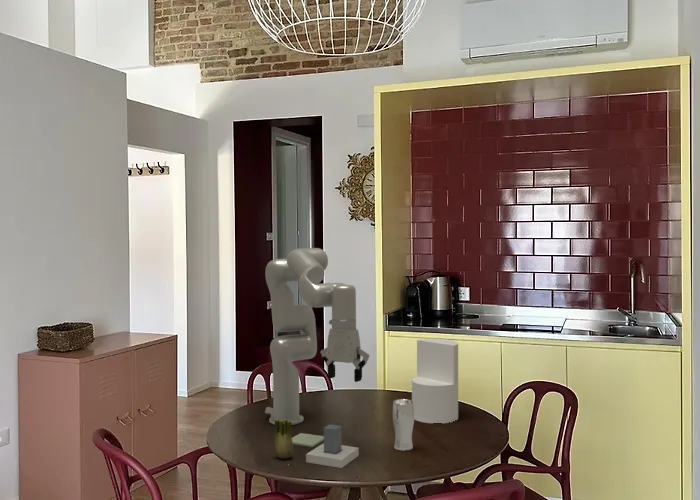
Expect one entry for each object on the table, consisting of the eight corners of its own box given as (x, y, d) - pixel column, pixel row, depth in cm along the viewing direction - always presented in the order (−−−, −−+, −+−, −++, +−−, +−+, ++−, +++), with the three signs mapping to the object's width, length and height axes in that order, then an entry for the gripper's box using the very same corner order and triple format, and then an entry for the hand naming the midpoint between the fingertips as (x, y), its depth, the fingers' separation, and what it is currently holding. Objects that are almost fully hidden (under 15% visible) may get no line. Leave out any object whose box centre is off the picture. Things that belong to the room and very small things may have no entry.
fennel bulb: (272, 457, 209) (272, 418, 208) (286, 453, 212) (285, 416, 211) (282, 462, 204) (282, 423, 204) (296, 458, 207) (295, 420, 207)
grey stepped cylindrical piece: (431, 408, 264) (430, 337, 263) (467, 416, 252) (467, 342, 251) (402, 417, 252) (402, 342, 251) (439, 426, 240) (439, 348, 239)
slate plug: (324, 460, 206) (323, 427, 205) (330, 456, 209) (329, 424, 209) (335, 462, 204) (335, 429, 204) (341, 457, 208) (341, 425, 207)
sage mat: (285, 443, 222) (285, 441, 222) (300, 434, 231) (300, 433, 231) (312, 447, 218) (312, 445, 218) (326, 438, 227) (326, 436, 227)
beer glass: (400, 452, 212) (399, 405, 212) (388, 446, 218) (388, 400, 218) (418, 449, 215) (418, 402, 215) (406, 443, 222) (406, 397, 221)
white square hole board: (306, 462, 204) (306, 454, 204) (324, 450, 215) (324, 442, 215) (341, 468, 199) (341, 459, 199) (358, 455, 209) (358, 447, 209)
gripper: (314, 324, 210) (315, 378, 210) (361, 328, 201) (362, 384, 201) (327, 321, 216) (328, 374, 217) (374, 325, 207) (374, 380, 208)
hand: (344, 379), depth 209 cm, fingers open, 9 cm apart
